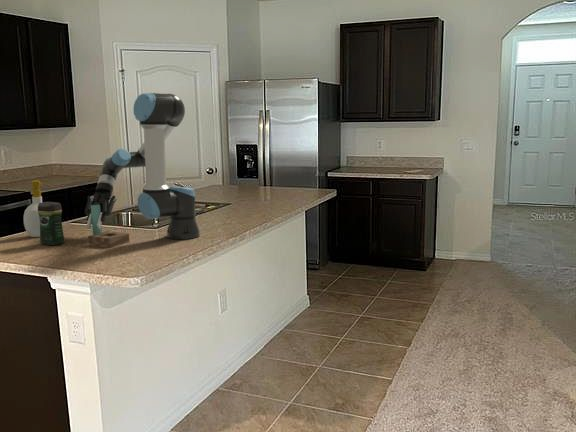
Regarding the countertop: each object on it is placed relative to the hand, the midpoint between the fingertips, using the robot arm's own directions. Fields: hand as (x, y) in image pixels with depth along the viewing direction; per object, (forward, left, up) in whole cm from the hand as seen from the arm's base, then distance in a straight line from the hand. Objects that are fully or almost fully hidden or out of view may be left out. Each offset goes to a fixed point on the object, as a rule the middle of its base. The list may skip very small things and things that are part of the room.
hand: (93, 227), depth 254 cm
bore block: (-12, +3, -6) cm, 14 cm away
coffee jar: (+11, +13, -6) cm, 19 cm away
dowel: (+1, -4, -5) cm, 6 cm away
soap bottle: (+29, +3, -6) cm, 30 cm away
